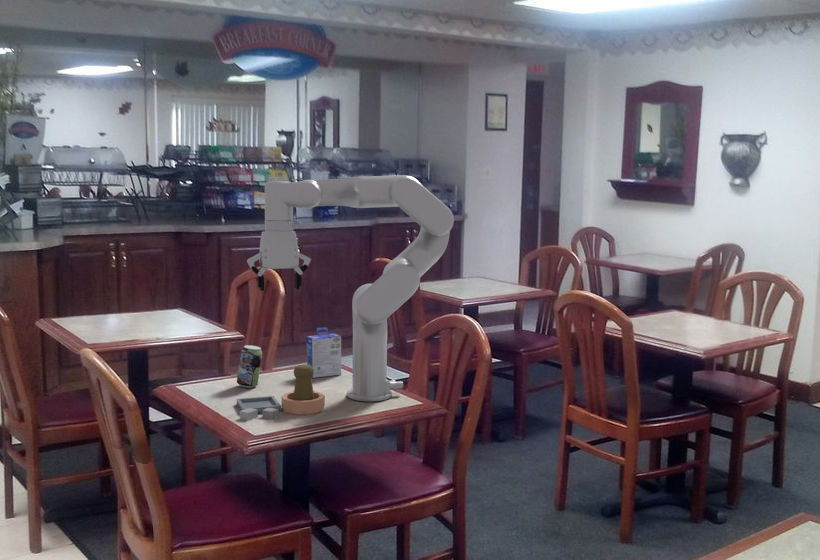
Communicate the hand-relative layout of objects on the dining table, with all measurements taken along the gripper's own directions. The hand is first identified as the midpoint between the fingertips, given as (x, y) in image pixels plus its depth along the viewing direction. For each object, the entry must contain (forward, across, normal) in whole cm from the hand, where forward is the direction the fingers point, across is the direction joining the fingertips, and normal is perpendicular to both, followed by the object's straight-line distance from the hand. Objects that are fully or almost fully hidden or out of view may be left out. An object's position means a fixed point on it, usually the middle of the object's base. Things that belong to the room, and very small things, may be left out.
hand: (279, 289), depth 236 cm
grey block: (+31, +6, +16) cm, 35 cm away
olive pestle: (+30, -4, +12) cm, 32 cm away
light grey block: (+31, +12, +16) cm, 36 cm away
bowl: (+30, -4, +12) cm, 33 cm away
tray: (+30, +8, +8) cm, 32 cm away
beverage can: (+31, +6, -14) cm, 34 cm away
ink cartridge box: (+31, -18, -21) cm, 41 cm away
